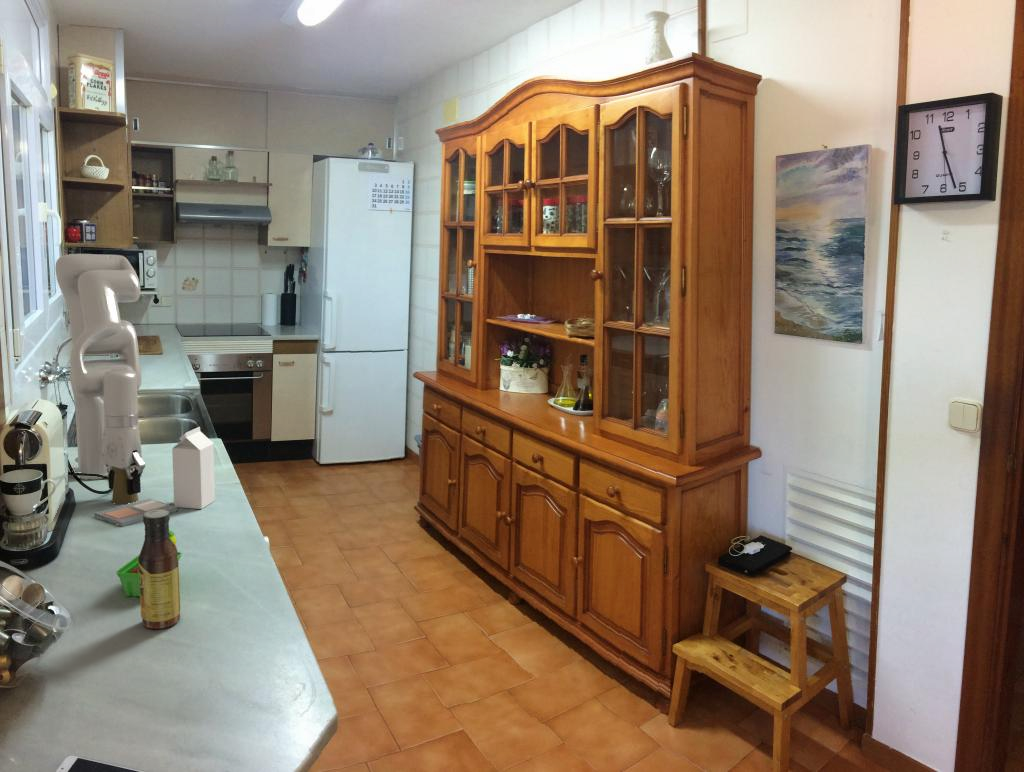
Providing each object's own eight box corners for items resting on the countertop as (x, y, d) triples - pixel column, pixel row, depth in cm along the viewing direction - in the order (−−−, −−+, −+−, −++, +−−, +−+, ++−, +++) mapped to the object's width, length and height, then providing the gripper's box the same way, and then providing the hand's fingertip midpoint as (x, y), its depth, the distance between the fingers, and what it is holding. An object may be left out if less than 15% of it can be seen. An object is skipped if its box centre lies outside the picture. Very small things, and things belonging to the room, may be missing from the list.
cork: (144, 499, 202) (142, 456, 200) (125, 506, 196) (123, 462, 194) (125, 496, 204) (123, 454, 202) (106, 502, 198) (103, 459, 196)
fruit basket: (145, 574, 157) (143, 519, 155) (190, 576, 157) (188, 521, 155) (115, 599, 146) (112, 540, 144) (163, 601, 146) (161, 542, 144)
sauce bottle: (149, 614, 140) (144, 505, 137) (186, 614, 141) (182, 505, 138) (135, 632, 134) (129, 518, 131) (173, 632, 134) (169, 518, 131)
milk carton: (215, 500, 203) (213, 427, 199) (201, 509, 196) (199, 433, 192) (188, 499, 203) (186, 425, 200) (174, 507, 196) (171, 432, 193)
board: (94, 516, 188) (94, 511, 188) (149, 502, 200) (149, 497, 199) (122, 526, 182) (122, 521, 182) (176, 511, 194) (176, 506, 194)
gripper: (86, 418, 198) (90, 487, 201) (128, 428, 189) (131, 501, 192) (115, 413, 204) (118, 480, 207) (157, 423, 195) (159, 493, 198)
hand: (124, 490), depth 200 cm, fingers open, 7 cm apart
